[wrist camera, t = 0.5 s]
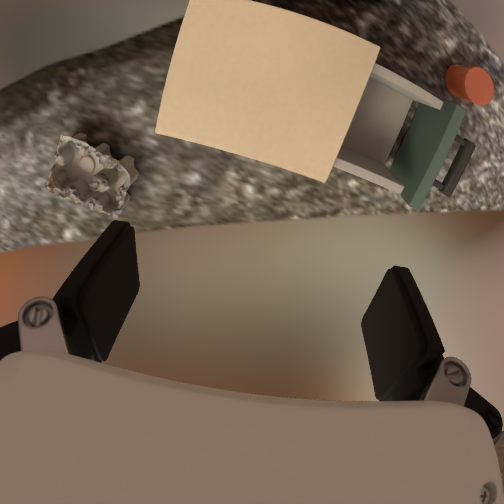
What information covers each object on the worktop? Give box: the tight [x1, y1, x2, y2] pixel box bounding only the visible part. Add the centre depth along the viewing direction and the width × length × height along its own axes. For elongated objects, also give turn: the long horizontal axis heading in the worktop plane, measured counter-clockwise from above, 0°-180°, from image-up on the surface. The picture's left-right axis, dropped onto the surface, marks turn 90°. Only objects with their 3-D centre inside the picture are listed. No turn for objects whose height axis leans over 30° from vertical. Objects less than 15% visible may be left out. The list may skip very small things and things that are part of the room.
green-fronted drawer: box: [333, 63, 476, 210], centre depth 23 cm, size 17×10×7 cm, turn 73°
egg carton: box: [45, 133, 139, 219], centre depth 30 cm, size 11×8×4 cm
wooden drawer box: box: [155, 0, 381, 183], centre depth 22 cm, size 13×11×8 cm
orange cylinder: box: [445, 64, 494, 106], centre depth 20 cm, size 4×4×4 cm
